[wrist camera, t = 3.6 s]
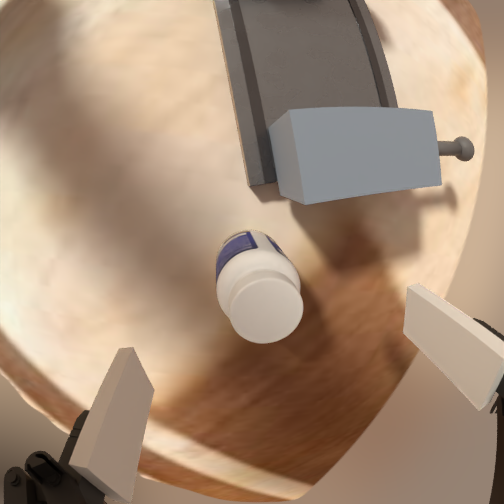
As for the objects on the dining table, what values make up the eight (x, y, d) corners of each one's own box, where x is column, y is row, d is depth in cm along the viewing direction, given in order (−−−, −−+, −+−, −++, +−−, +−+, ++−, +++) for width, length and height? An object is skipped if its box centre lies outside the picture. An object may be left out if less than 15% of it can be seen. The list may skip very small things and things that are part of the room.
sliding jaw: (280, 195, 19) (305, 205, 14) (268, 127, 18) (288, 109, 12) (449, 173, 20) (494, 179, 15) (443, 123, 19) (488, 120, 13)
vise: (247, 185, 21) (262, 191, 14) (205, -37, 14) (204, -85, 6) (397, 165, 22) (455, 169, 14) (338, -35, 14) (366, -70, 7)
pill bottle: (212, 286, 23) (210, 349, 14) (221, 224, 21) (222, 259, 13) (274, 292, 24) (301, 354, 15) (286, 234, 22) (325, 272, 14)
